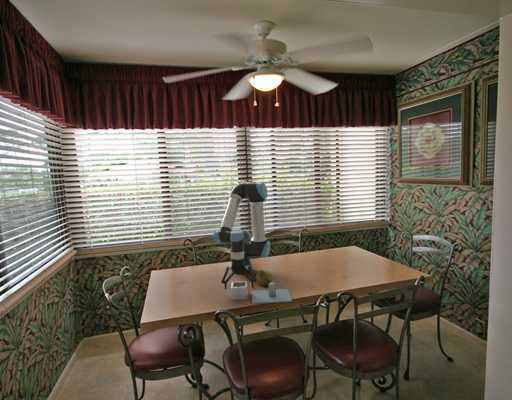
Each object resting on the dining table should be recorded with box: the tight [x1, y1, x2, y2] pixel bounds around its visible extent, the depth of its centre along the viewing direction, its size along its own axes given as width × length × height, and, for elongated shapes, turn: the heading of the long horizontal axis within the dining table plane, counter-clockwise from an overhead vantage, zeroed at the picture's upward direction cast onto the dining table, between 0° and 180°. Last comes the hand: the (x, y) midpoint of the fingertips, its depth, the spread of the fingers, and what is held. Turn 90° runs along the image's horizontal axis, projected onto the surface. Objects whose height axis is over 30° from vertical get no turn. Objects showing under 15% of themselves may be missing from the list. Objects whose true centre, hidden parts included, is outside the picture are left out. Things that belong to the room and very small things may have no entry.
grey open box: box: [230, 280, 248, 301], centre depth 172 cm, size 9×9×7 cm
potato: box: [255, 269, 272, 287], centre depth 188 cm, size 8×13×8 cm, turn 11°
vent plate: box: [251, 281, 293, 305], centre depth 169 cm, size 16×22×8 cm
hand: (239, 293), depth 172 cm, fingers open, 13 cm apart
